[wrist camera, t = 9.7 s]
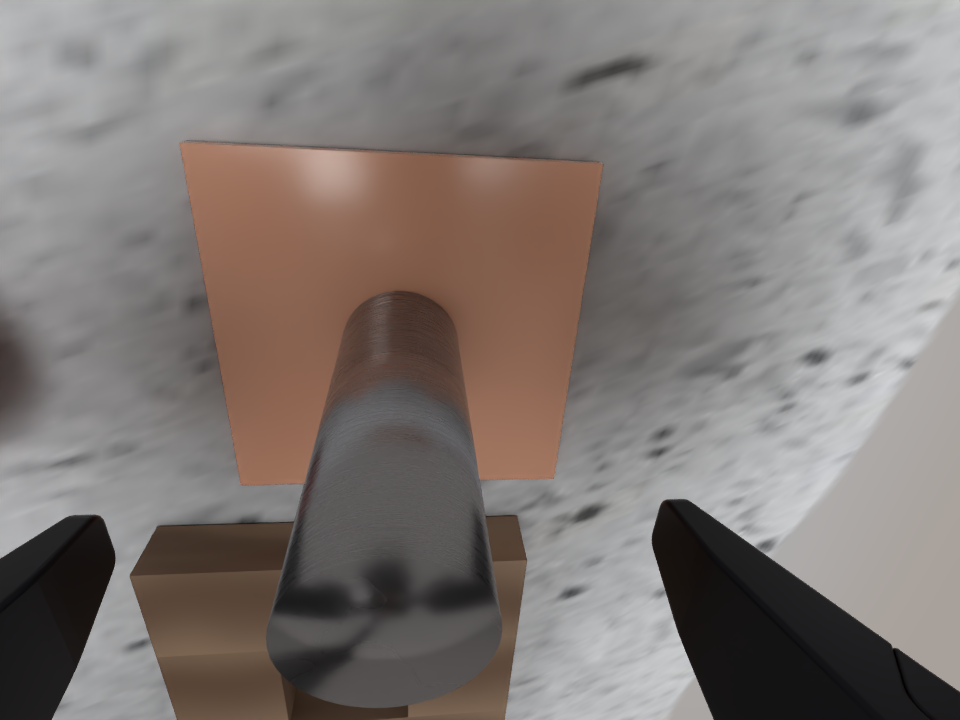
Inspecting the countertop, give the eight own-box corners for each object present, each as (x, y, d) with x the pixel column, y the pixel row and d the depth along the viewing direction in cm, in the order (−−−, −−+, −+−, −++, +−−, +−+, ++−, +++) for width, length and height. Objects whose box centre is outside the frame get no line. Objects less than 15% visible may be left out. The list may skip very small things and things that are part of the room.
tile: (551, 470, 19) (553, 478, 18) (244, 476, 17) (241, 485, 17) (598, 161, 14) (603, 164, 14) (186, 140, 13) (179, 142, 12)
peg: (460, 292, 15) (512, 552, 7) (455, 392, 16) (493, 700, 8) (339, 289, 14) (250, 564, 7) (346, 392, 16) (280, 715, 8)
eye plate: (492, 714, 25) (498, 762, 23) (216, 734, 24) (199, 788, 22) (516, 515, 19) (527, 560, 18) (157, 526, 18) (129, 576, 16)
